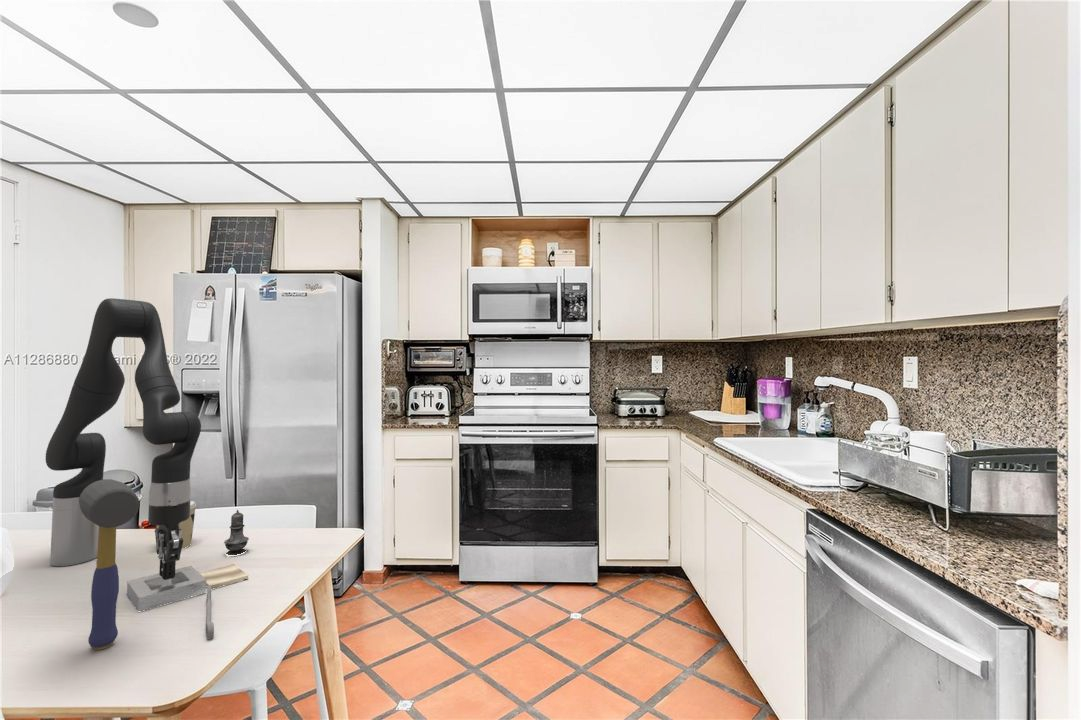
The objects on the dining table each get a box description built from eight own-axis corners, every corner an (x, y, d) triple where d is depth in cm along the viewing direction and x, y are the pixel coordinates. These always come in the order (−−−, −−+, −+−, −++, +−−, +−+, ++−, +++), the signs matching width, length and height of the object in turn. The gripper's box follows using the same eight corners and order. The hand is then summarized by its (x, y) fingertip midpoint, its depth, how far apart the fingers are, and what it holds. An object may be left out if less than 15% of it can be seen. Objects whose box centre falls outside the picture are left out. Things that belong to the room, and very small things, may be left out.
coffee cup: (200, 545, 139) (202, 503, 140) (161, 555, 132) (163, 511, 132) (186, 538, 144) (187, 498, 145) (148, 548, 137) (149, 505, 137)
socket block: (126, 594, 108) (127, 581, 109) (190, 577, 118) (191, 565, 118) (138, 612, 101) (139, 597, 101) (205, 593, 110) (206, 579, 110)
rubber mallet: (69, 642, 89) (76, 480, 90) (122, 626, 95) (128, 474, 96) (80, 669, 81) (88, 491, 82) (137, 650, 87) (143, 483, 88)
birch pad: (196, 577, 118) (196, 573, 118) (233, 568, 124) (233, 564, 124) (209, 590, 111) (209, 585, 111) (248, 579, 117) (248, 575, 117)
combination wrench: (214, 623, 91) (214, 581, 108) (206, 625, 91) (207, 583, 107) (213, 643, 91) (213, 598, 108) (205, 645, 90) (206, 600, 107)
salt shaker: (236, 558, 131) (238, 513, 131) (218, 556, 132) (219, 511, 132) (253, 550, 136) (254, 507, 137) (235, 548, 138) (237, 506, 138)
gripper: (142, 497, 111) (139, 573, 111) (156, 509, 102) (153, 591, 102) (181, 491, 117) (178, 563, 117) (198, 502, 108) (195, 580, 108)
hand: (167, 576), depth 109 cm, fingers closed
